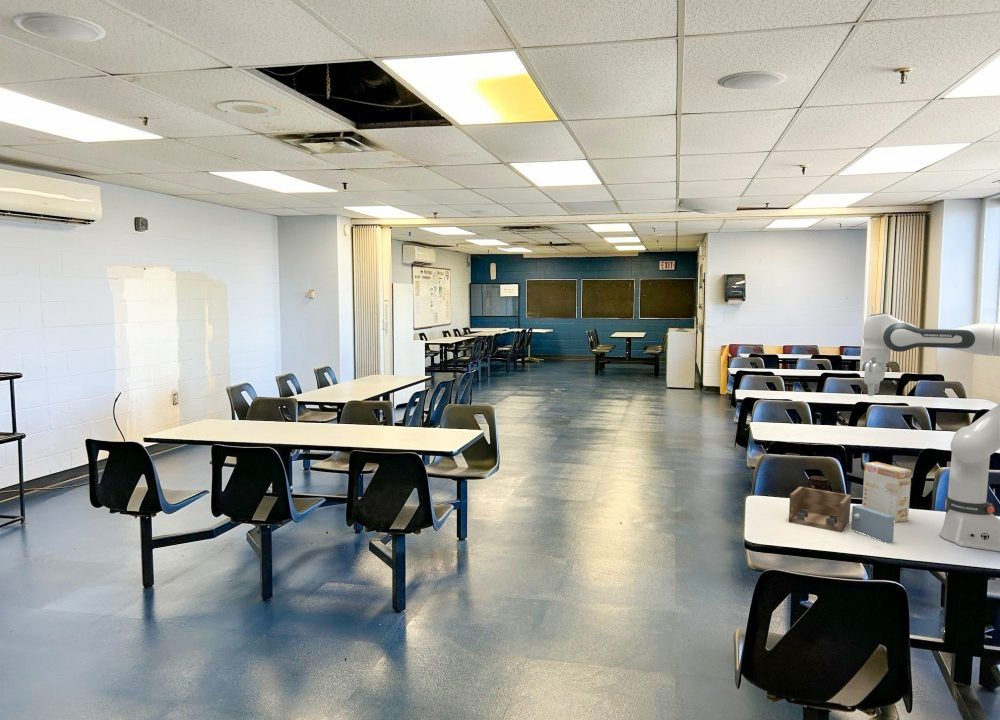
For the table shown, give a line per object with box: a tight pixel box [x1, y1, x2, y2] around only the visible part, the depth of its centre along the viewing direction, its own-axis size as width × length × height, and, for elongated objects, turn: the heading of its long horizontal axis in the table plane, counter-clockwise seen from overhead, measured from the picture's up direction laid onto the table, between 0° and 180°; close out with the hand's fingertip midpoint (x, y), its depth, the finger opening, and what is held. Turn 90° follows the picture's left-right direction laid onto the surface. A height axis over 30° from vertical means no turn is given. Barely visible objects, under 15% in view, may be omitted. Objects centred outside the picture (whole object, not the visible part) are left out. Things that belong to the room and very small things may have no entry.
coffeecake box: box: [861, 461, 912, 523], centre depth 262 cm, size 15×7×20 cm, turn 22°
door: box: [850, 504, 895, 544], centre depth 239 cm, size 14×4×9 cm, turn 23°
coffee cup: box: [806, 475, 832, 492], centre depth 268 cm, size 9×8×13 cm
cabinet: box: [788, 486, 852, 533], centre depth 253 cm, size 18×14×10 cm
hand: (873, 394), depth 252 cm, fingers open, 8 cm apart
